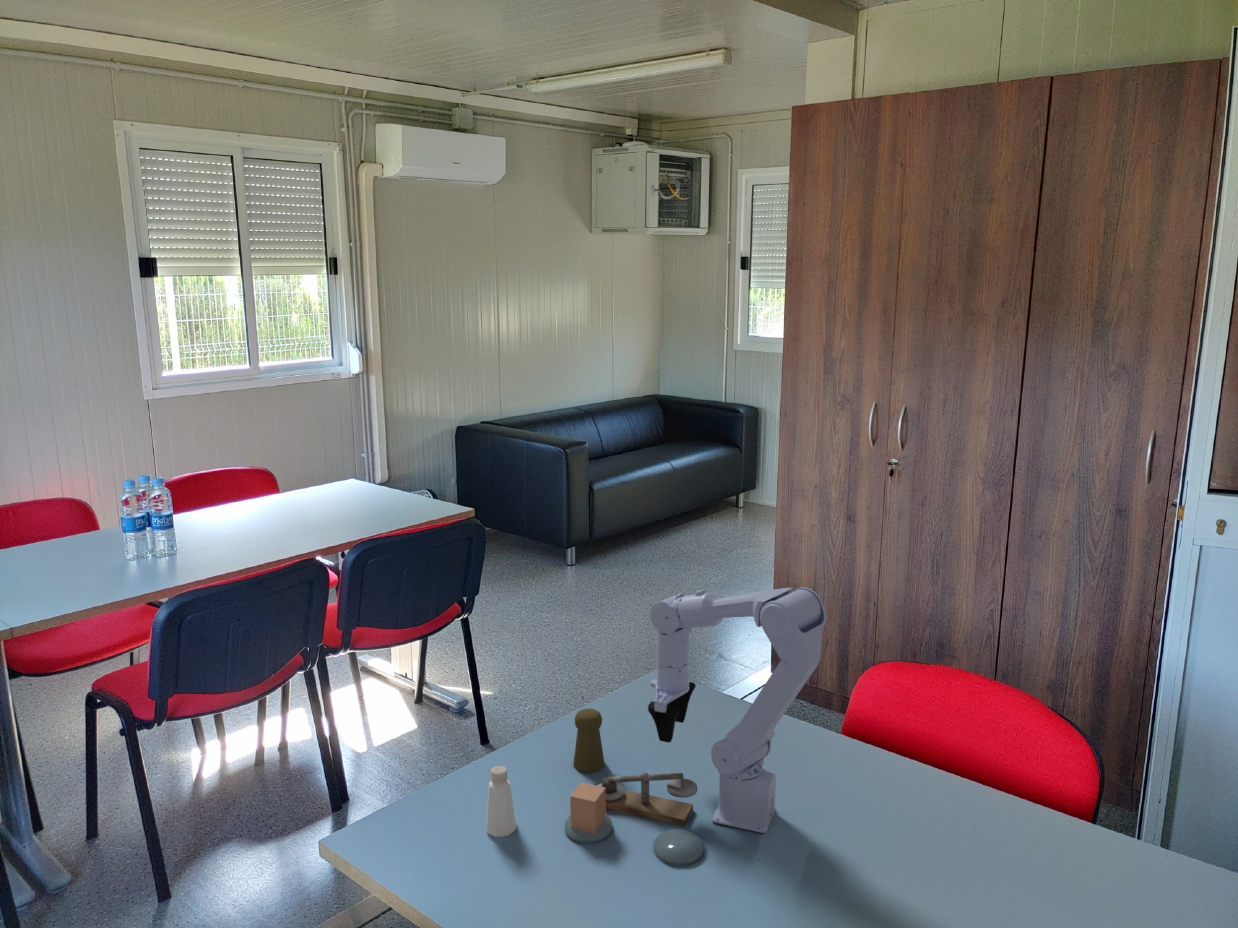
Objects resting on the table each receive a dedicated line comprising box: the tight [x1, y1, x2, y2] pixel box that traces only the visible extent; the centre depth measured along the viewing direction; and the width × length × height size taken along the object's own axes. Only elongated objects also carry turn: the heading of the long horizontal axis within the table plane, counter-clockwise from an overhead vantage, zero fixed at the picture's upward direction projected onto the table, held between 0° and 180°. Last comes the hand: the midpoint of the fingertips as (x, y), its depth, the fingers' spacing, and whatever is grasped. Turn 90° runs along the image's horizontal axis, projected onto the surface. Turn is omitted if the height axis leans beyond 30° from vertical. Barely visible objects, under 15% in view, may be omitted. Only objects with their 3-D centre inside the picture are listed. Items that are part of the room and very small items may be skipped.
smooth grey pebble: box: [653, 829, 704, 866], centre depth 151 cm, size 8×8×1 cm
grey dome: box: [564, 814, 613, 844], centre depth 157 cm, size 8×8×1 cm
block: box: [569, 782, 607, 834], centre depth 156 cm, size 4×4×6 cm
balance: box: [597, 772, 698, 827], centre depth 162 cm, size 19×5×8 cm, turn 69°
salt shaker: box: [485, 765, 517, 838], centre depth 156 cm, size 5×5×11 cm
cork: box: [572, 707, 606, 774], centre depth 176 cm, size 6×6×11 cm
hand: (672, 730), depth 169 cm, fingers open, 7 cm apart
